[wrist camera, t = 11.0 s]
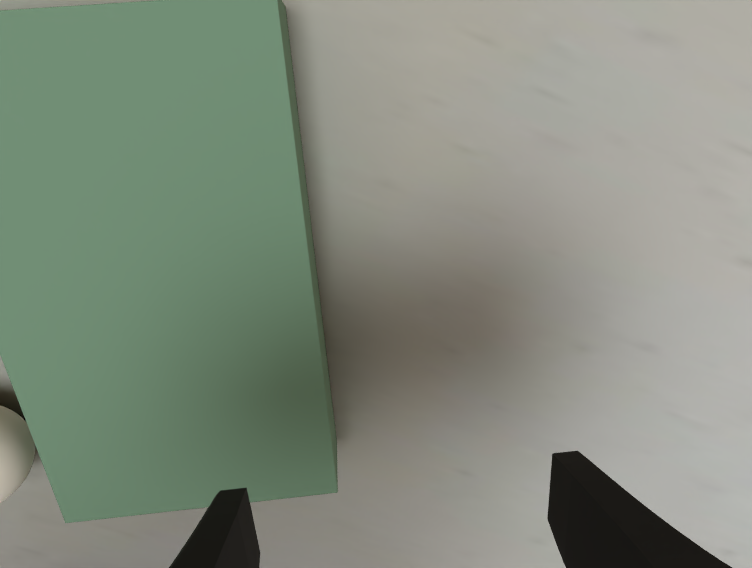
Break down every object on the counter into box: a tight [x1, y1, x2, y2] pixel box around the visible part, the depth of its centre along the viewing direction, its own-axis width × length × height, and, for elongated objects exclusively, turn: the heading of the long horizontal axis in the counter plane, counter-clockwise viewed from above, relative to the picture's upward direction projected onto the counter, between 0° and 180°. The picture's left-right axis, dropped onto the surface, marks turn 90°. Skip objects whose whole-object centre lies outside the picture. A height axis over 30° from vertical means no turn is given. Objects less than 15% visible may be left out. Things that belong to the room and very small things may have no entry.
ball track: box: [0, 0, 338, 523], centre depth 18 cm, size 17×19×3 cm
